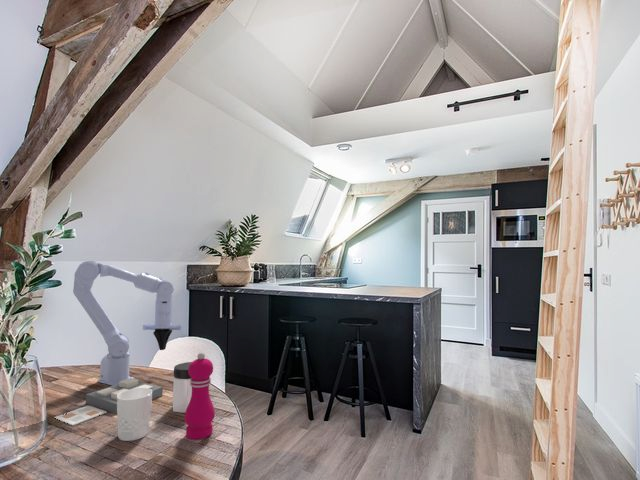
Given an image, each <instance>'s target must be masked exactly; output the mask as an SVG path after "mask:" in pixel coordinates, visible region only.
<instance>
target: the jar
mask: <svg viewBox="0 0 640 480" xmlns="http://www.w3.org/2000/svg"><path fill="white" fill-rule="evenodd" d="M192 362H193V361H189V362H188V361H186V362H182V363H177V364H176V365H175V366H174V367H173V386H172V412H174V413H182V414H183V413H184V414H185V412H186V409H187V407H188V404H189V402H190V399H191V396H192V386H190V383H191V382H190V380H191V379H192V378H191V377H190V376H189V373H188V369H189V365H190V364H191V363H192Z"/></svg>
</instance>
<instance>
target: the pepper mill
mask: <svg viewBox="0 0 640 480" xmlns="http://www.w3.org/2000/svg"><path fill="white" fill-rule="evenodd" d="M205 357H206V354H205V353H204V352H199V353H198V354H197V359H195V360H192V361H191V362H192V363H191V364H190V365H189V369H188V373H189V376H190V377H191V378H192V379H191V380H190V382H191V383H190V386H192V396H191V399H190V402H189V404H188V407H187V409H186V412H185V413H184V423H185V424H186V425H187V426H186V429H185V431H186V432H185V436H186V437H187V438H188V439H190V440H203V439H207V438H208V437H209V436H211V435H212V434H213V430H214V429H213V427H214V426H213V423H212V422H213V421H214V419H215V417H216V413H215V407H214V404H213V401H212V398H211V396H210V385H211V383H212V381H211V380H212V377H211V375H213V372H214V365H213V363H212V360H210V359H208V358H205Z"/></svg>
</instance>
